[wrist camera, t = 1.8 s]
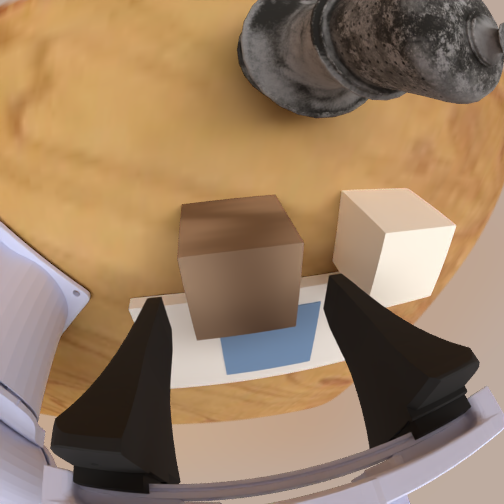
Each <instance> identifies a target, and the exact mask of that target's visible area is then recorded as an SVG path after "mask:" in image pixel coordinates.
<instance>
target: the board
mask: <svg viewBox="0 0 504 504" xmlns="http://www.w3.org/2000/svg"><path fill="white" fill-rule="evenodd" d="M334 274H340V272H333V273H327V274H321V275H314V276H307V277H301V283H300V293H299V303H298V312H297V321H296V326H295V327H290V328H284V329H278V330H272V331H266V332H259V333H252V334H245V335H238V336H231V337H223V338H215V339H206V340H198V341H197V339H196V335H195V332H194V328H193V324H192V320H191V316H190V312H189V308H188V303H187V299H186V295H185V293H177V294H168V295H159V296H149V297H139V298H131V299H130V304H129V312H130V314H131V316H132V319H133V321H134V323H135V321H136V319H137V317H138V315H139V313H140V311H141V309H142V307H143V305H144V303H145V301H146V300H147V298H153V297H162V300H163V303H164V306H165V309H166V312H167V316H168V319H169V322H170V325H171V328H172V342H173V354H172V369H171V385H170V389H171V388H185V387H197V386H207V385H216V384H224V383H232V382H239V381H246V380H253V379H259V378H265V377H271V376H277V375H282V374H287V373H293V372H298V371H302V370H307V369H312V368H316V367H321V366H325V365H329V364H333V363H337V362H341V361H345V359H344V357H343V355H342V353H341V351H340V349H339V347H338V345H337V342H336V340H335V338H334V336H333V334H332V332H331V330H330V328H329V325H328V322H327V319H326V316H325V313H324V309H323V307H324V301H325V296H326V290H327V284H328V278H329V275H334Z"/></svg>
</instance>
